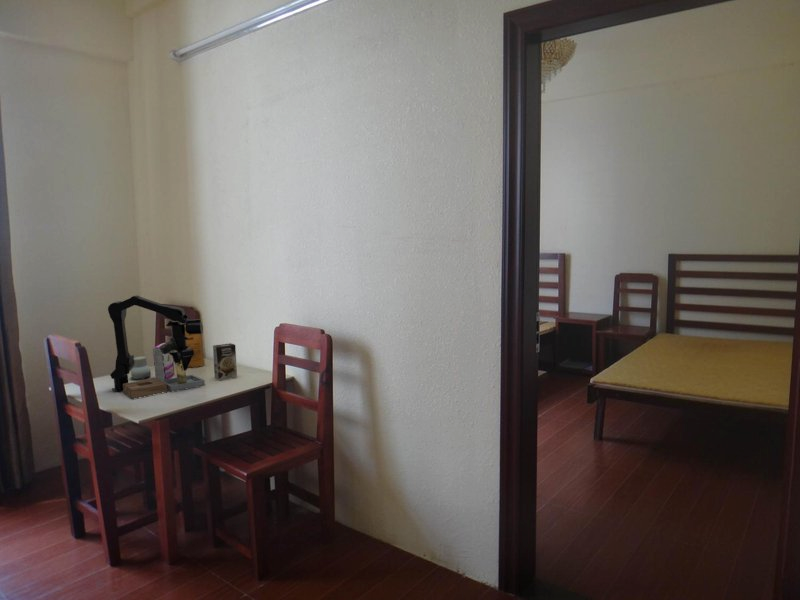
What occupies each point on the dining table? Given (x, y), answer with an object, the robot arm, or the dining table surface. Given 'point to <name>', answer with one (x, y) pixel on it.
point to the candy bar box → (163, 364)
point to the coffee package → (195, 349)
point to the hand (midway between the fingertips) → (181, 368)
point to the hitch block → (144, 388)
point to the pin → (180, 373)
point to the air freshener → (140, 368)
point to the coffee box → (225, 361)
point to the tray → (191, 382)
